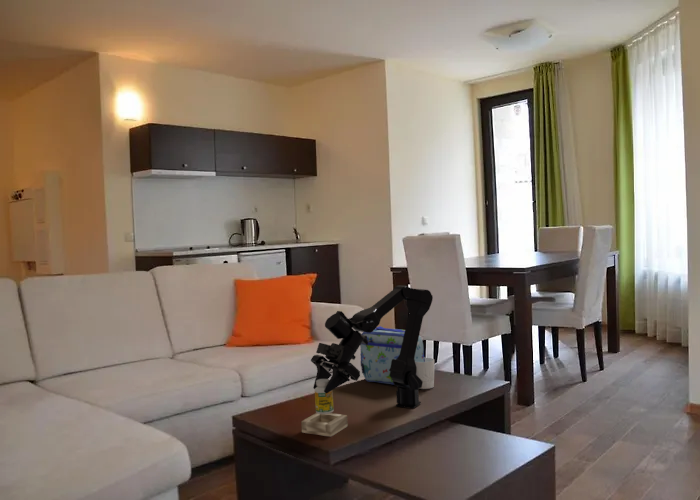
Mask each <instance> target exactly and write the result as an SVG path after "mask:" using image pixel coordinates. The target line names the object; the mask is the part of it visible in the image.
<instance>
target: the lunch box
mask: <svg viewBox="0 0 700 500" xmlns="http://www.w3.org/2000/svg"><path fill="white" fill-rule="evenodd" d="M404 333H405V329H398V328H388V327H387V328H385V327H383V326H381V325H380V326H379V325H378V326H377V327H376V328H375V330H374V331H373V332H371V333H366V332H362V333H361V334H362V335H365V336H367V340H368V345H366V344H361V345H360V346H359V348H360V367H361V374H363V378H364V380H365V381H366V382H367V383H368V382H371V383H379V384H386V385H392V386H393V385H394V383H393V380H392V379H391V377H390V371H389V369H390V367H391V361H392V359H395V360H396V359H397V358H398V356H399V355H400V351H401V346H402V342H403V337H404ZM424 358H425V349H424V342H423V339H422V336H421V335H420V334H419V338H418V343H417V348H416V352H415V357H414V360H415V361H416V362H425V360H424Z"/></svg>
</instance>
